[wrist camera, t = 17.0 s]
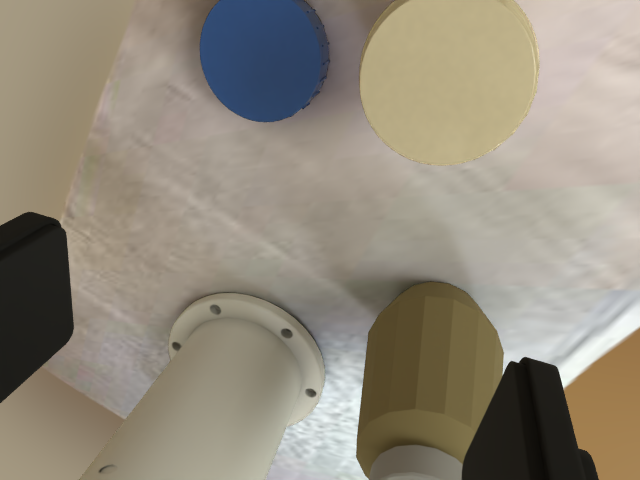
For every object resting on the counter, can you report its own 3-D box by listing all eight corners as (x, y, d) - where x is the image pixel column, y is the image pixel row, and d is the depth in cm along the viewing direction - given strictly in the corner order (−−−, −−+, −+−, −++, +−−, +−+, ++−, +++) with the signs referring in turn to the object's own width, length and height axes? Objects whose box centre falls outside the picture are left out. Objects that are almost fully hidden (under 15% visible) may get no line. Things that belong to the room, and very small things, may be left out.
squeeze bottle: (352, 319, 35) (266, 583, 20) (426, 241, 31) (389, 495, 16) (444, 384, 36) (428, 689, 21) (527, 315, 32) (587, 632, 16)
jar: (446, 134, 28) (438, 207, 19) (364, 51, 27) (314, 86, 18) (544, 44, 25) (590, 79, 16) (455, -53, 24) (449, -73, 15)
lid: (260, -46, 26) (247, -48, 25) (356, 51, 27) (349, 55, 26) (191, 56, 30) (175, 61, 28) (278, 139, 31) (268, 148, 29)
